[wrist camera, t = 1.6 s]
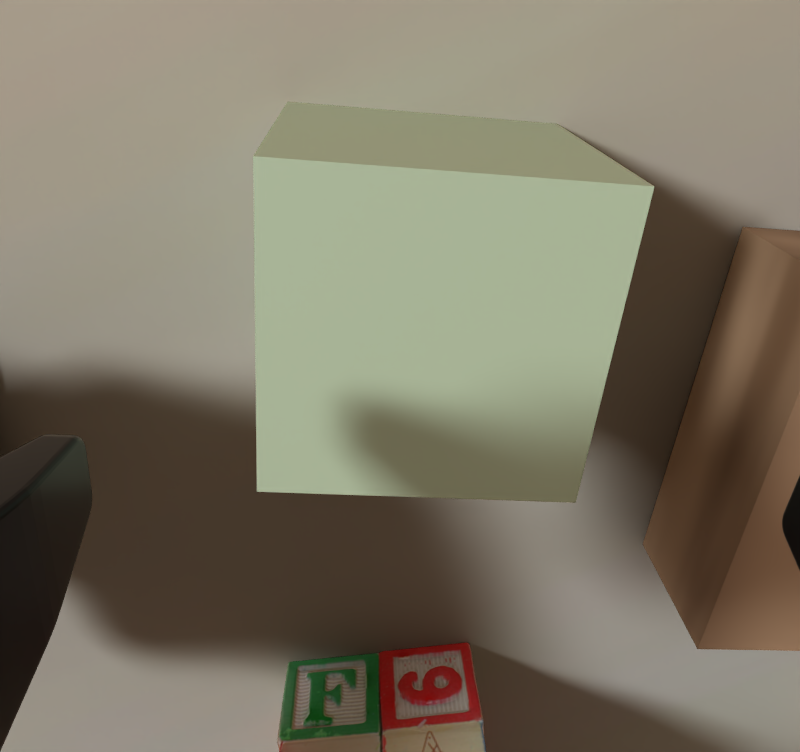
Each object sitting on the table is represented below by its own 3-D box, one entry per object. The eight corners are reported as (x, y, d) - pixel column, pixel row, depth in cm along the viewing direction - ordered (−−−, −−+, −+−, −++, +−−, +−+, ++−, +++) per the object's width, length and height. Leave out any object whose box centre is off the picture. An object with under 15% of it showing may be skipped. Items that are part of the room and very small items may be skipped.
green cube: (285, 348, 18) (256, 491, 13) (288, 101, 16) (253, 155, 10) (513, 360, 19) (575, 502, 14) (556, 123, 16) (654, 186, 11)
